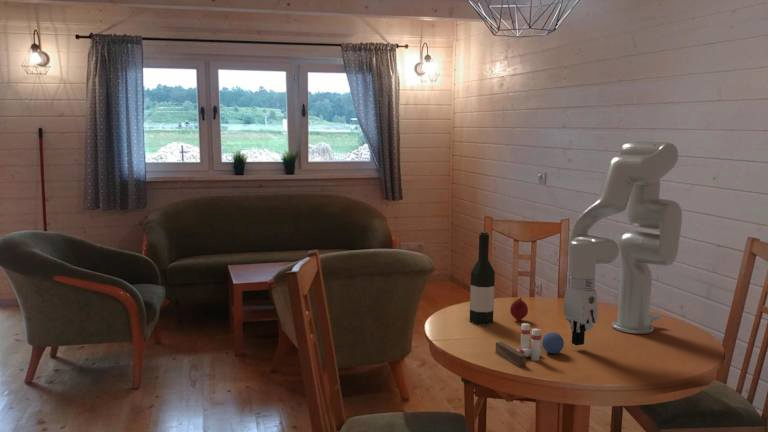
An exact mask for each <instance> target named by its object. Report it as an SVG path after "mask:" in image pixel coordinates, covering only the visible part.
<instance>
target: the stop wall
mask: <svg viewBox="0 0 768 432" xmlns="http://www.w3.org/2000/svg"><path fill="white" fill-rule="evenodd" d="M517 350H518V349H515V348H514V347H512V346H511V345H509V344H507V343H505V342H503V341H498V342H495V354H497V355H499V356H500V357H502V358H504V359H505V360H507V361H508V362H510V363H512V364H514V365H515V366H517V367H518V368H522V367H527V357H526V355H524V354H523V353H521V352H519V351H517Z"/></svg>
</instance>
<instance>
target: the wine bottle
mask: <svg viewBox="0 0 768 432" xmlns="http://www.w3.org/2000/svg"><path fill="white" fill-rule="evenodd" d="M478 239H479V240H478V259H477V261H476V262H475V264H474V265H473V267H472V269H471V270H470V291H469V292H470V295H469V296H470V297H469V298H470V299H469V322H470V323H472V322H473V323H472V324H474V323H475V325H482V324H485V326H488V325H491V324H494V307H495V306H494V305H495V282H496V281H495V280H496V279H495V278H496V272H495V269H494V267H493V265H492V264H491V262H490V260H489V251H490V250H489V248H490V247H489V246H490V234H489V232H488V231H485V230H484V231H483V230H482V231H480V233H479V235H478ZM490 323H491V324H490Z"/></svg>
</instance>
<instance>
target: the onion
mask: <svg viewBox="0 0 768 432" xmlns="http://www.w3.org/2000/svg"><path fill="white" fill-rule="evenodd" d="M509 311H510V314H511V316H512V317H513V318H514V319H515V320H516V321H521V320H523V319H524V318H526V316H528V312H529V308H528V305H527V303H526V302H525V301H524V300H522V297H520V296H518V298H517V299H515V300H514V301H513V302H512V303H511V306H510V309H509Z"/></svg>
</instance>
